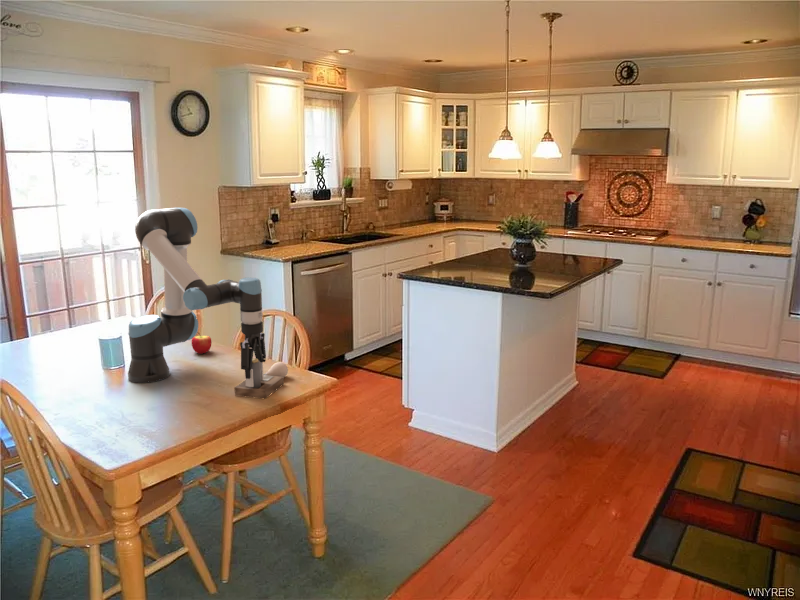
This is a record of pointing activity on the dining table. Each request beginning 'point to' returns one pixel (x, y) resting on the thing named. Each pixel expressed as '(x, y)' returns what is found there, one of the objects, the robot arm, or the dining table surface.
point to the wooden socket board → (265, 390)
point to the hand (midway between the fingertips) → (254, 382)
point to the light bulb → (278, 370)
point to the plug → (256, 373)
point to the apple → (201, 344)
